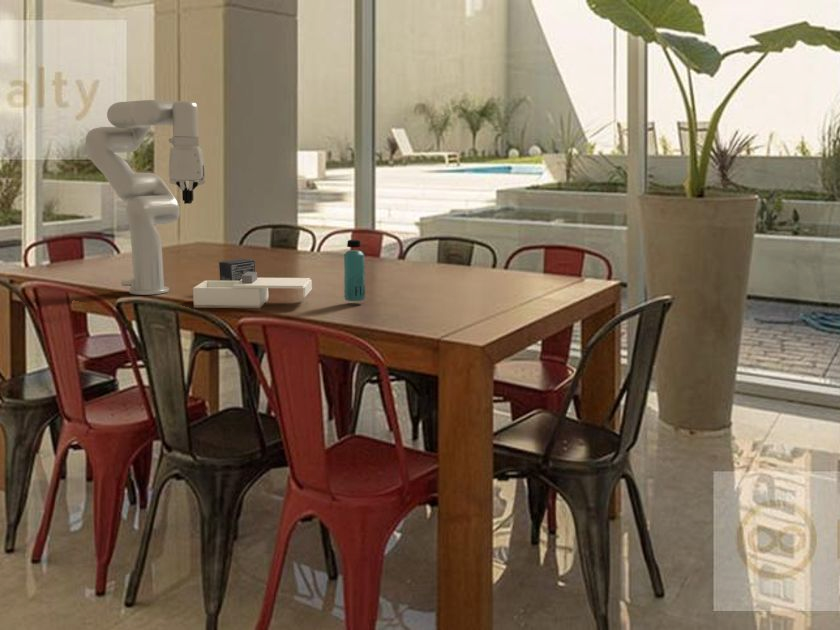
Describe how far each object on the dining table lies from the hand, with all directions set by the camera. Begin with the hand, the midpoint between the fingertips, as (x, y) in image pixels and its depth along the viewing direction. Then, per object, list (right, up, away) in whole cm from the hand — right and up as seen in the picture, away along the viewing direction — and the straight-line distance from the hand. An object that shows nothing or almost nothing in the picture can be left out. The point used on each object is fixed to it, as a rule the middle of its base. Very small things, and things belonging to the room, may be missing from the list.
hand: (188, 203), depth 275 cm
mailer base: (+13, -31, +1) cm, 34 cm away
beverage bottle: (+51, -31, +1) cm, 60 cm away
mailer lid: (+26, -28, 0) cm, 38 cm away
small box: (+11, -27, +22) cm, 37 cm away
